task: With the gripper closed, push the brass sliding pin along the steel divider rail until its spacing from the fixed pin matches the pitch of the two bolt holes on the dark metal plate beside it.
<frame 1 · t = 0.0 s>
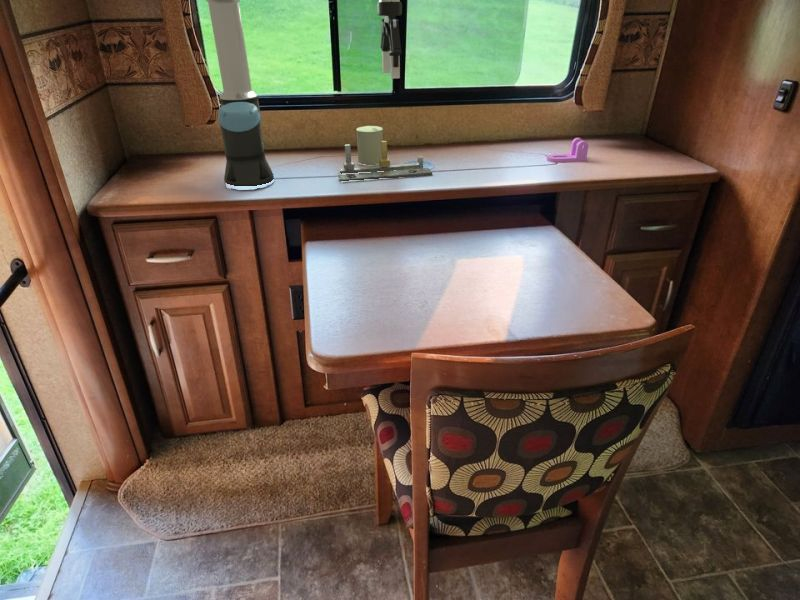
hand: (390, 75, 170), 28 cm above the table, fingers open, 13 cm apart
slider: (384, 153, 171), point 6 cm above the table, slide at 1.0 cm
bracket: (564, 160, 183), on the table
divider rail: (381, 170, 174), on the table
can: (370, 162, 183), on the table
hole plate: (385, 176, 169), on the table
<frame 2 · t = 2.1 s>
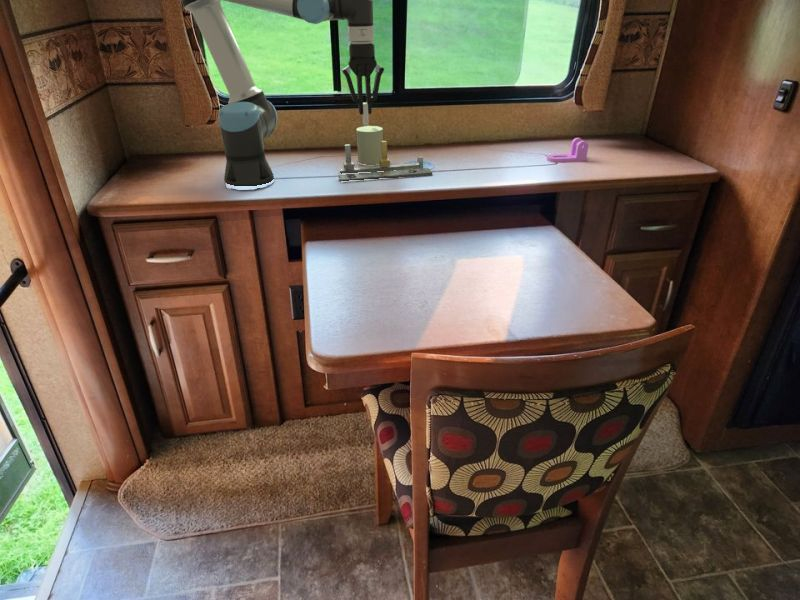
hand: (365, 124, 165), 15 cm above the table, fingers closed
nothing on the table moved.
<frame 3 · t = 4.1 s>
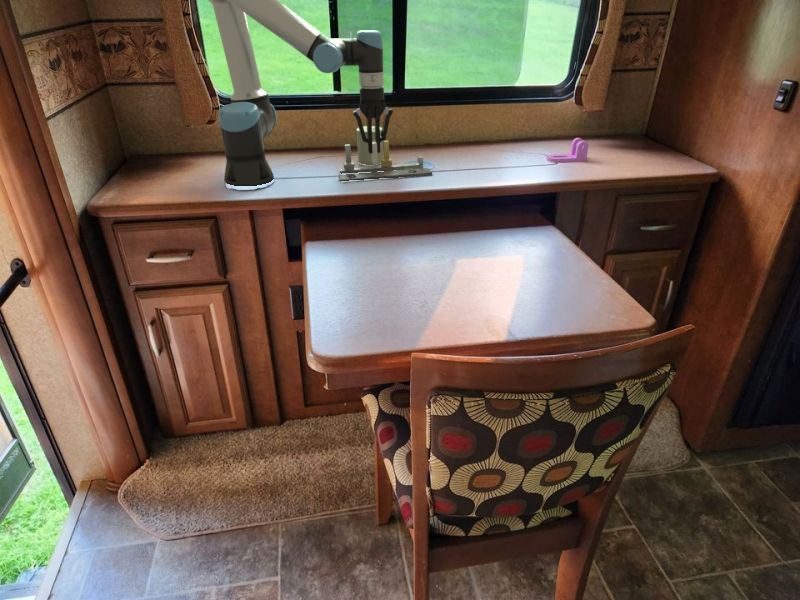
hand: (374, 162, 172), 3 cm above the table, fingers closed
slider: (386, 153, 171), point 6 cm above the table, slide at 1.7 cm, touching gripper
everything else where it was.
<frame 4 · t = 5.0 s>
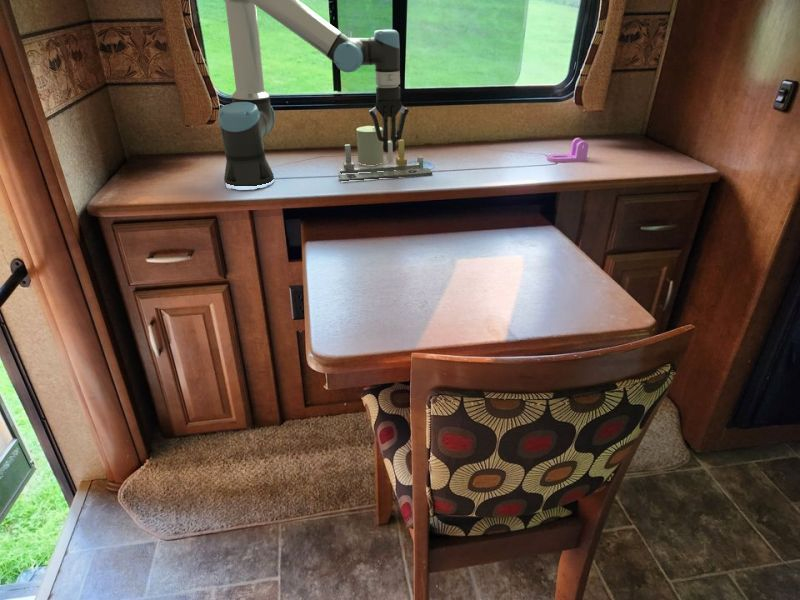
hand: (389, 161, 173), 3 cm above the table, fingers closed
slider: (401, 152, 172), point 6 cm above the table, slide at 6.8 cm, touching gripper
everything else where it was.
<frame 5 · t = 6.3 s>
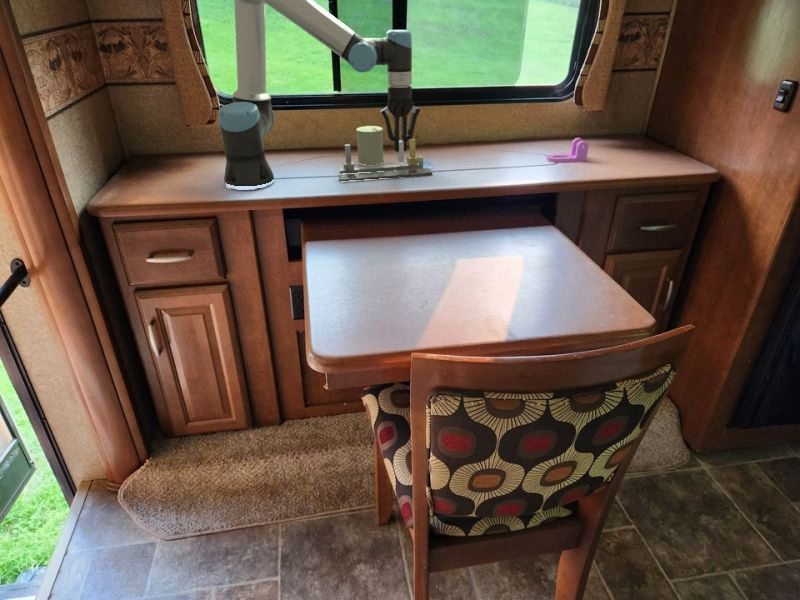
hand: (400, 160, 174), 3 cm above the table, fingers closed
slider: (412, 151, 173), point 6 cm above the table, slide at 10.6 cm, touching gripper
everything else where it was.
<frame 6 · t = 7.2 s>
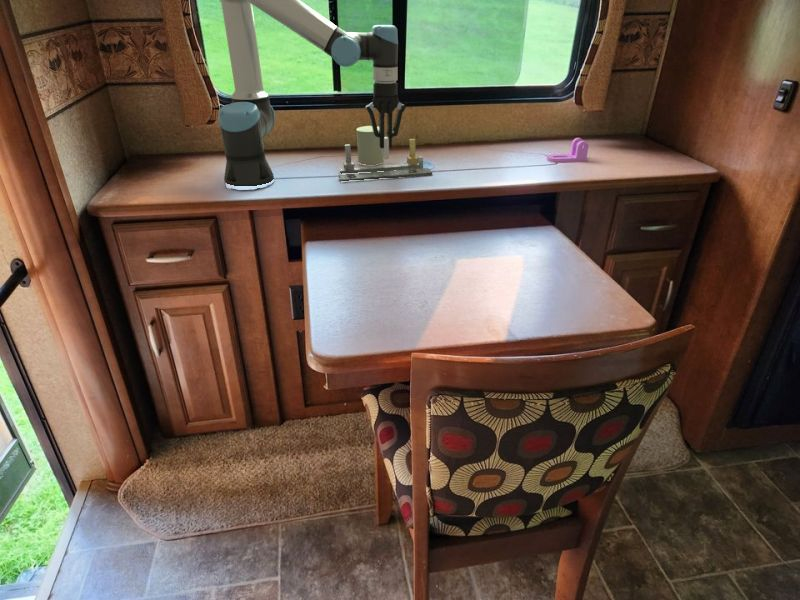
hand: (385, 157, 172), 4 cm above the table, fingers closed
slider: (412, 151, 173), point 6 cm above the table, slide at 10.6 cm
everything else where it was.
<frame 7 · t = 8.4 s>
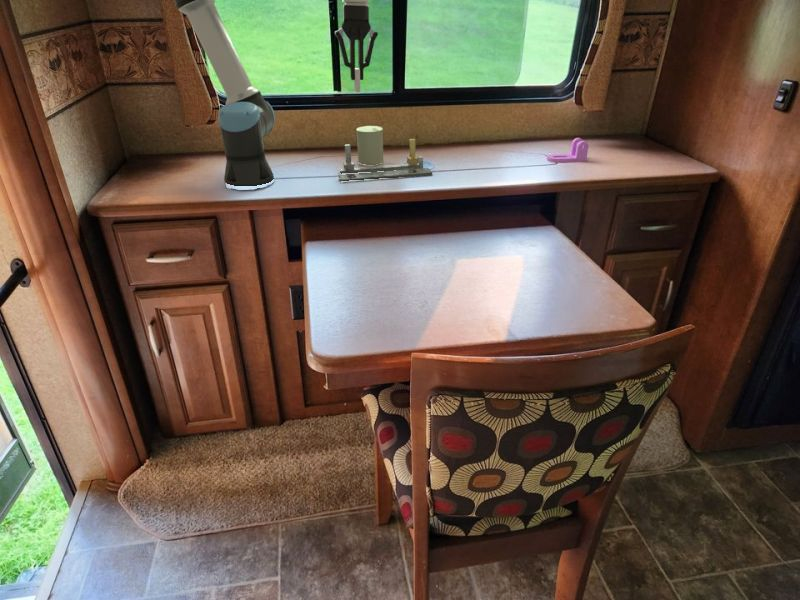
hand: (357, 91, 162), 25 cm above the table, fingers closed
nothing on the table moved.
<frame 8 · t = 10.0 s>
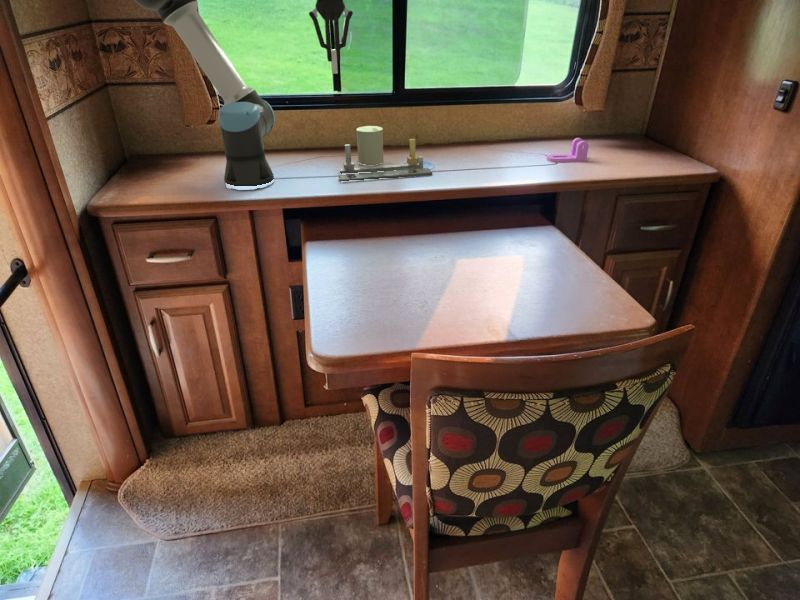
hand: (334, 73, 159), 30 cm above the table, fingers closed
nothing on the table moved.
at the end: slider slide at 10.6 cm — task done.
